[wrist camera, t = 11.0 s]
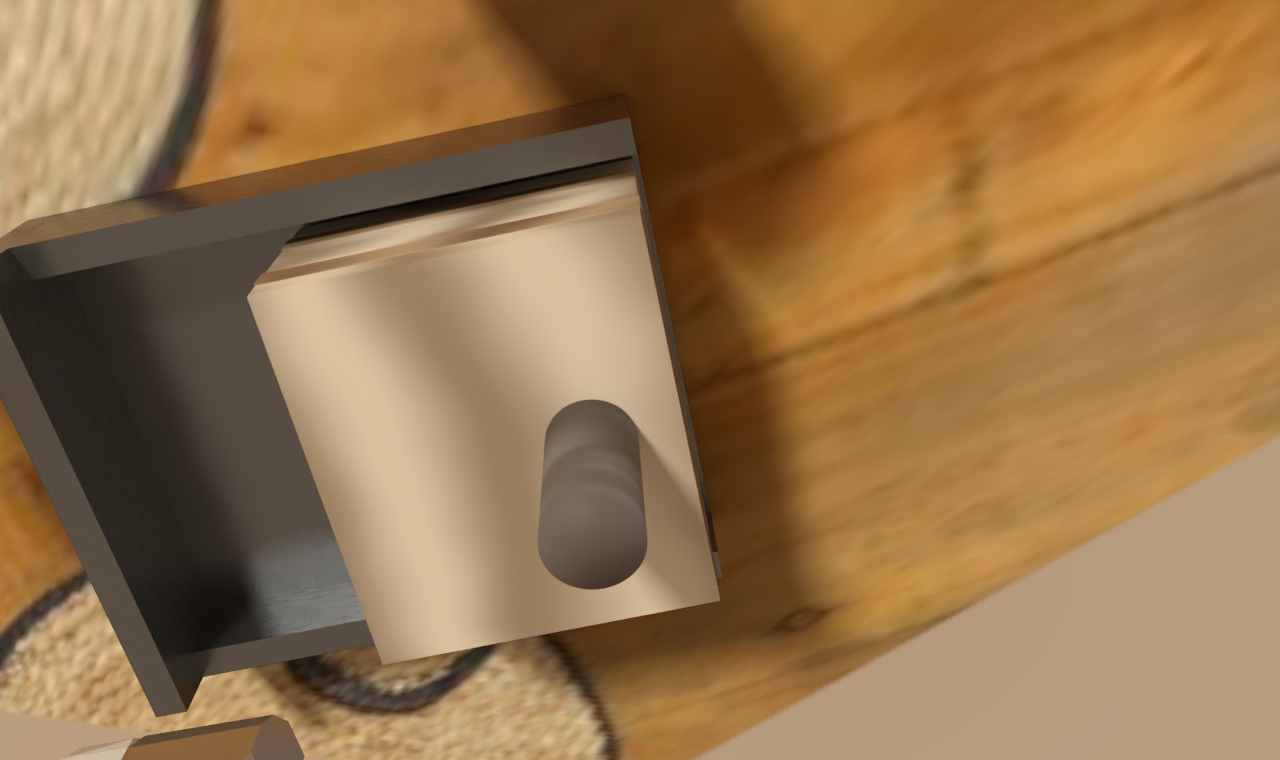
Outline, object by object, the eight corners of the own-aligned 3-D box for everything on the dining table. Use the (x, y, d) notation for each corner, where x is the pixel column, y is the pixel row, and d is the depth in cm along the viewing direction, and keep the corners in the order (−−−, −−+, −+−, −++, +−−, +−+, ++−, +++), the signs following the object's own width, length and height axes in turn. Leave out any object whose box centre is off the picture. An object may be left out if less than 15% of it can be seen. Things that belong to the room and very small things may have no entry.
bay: (625, 94, 40) (631, 131, 35) (712, 522, 48) (728, 608, 42) (27, 220, 41) (-58, 275, 36) (204, 620, 49) (156, 717, 43)
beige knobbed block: (633, 157, 40) (653, 282, 28) (703, 498, 46) (743, 721, 34) (298, 226, 40) (179, 379, 29) (409, 555, 46) (348, 794, 34)
